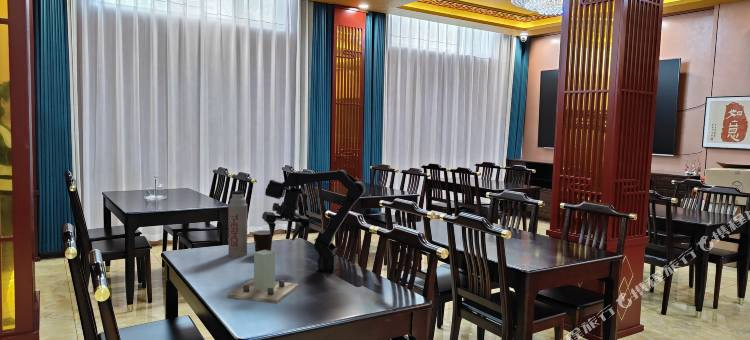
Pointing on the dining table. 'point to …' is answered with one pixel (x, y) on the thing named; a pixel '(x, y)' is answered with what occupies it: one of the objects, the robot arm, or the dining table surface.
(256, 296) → the peg board
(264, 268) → the sage block
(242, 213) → the thermos bottle
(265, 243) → the coffee mug
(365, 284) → the dining table surface
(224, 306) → the dining table surface
